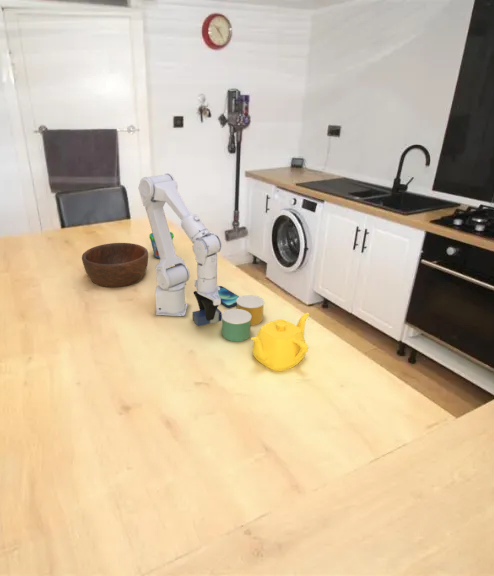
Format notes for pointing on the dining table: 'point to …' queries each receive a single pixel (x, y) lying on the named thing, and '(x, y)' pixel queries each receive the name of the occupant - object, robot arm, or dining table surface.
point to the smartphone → (227, 297)
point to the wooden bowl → (115, 264)
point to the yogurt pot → (236, 324)
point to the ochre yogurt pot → (251, 307)
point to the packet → (201, 319)
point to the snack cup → (155, 244)
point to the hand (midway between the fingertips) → (207, 316)
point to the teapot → (280, 344)
